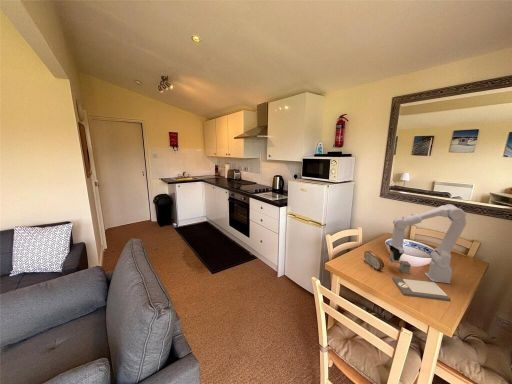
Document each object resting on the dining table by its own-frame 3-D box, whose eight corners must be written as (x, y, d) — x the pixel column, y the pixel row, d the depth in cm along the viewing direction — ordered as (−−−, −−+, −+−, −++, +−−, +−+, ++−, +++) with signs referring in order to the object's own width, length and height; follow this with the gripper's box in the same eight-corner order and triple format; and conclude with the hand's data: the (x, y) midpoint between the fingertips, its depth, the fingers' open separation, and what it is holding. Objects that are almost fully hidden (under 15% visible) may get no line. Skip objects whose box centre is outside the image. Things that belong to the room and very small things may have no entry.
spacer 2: (405, 270, 133) (407, 261, 132) (409, 273, 129) (410, 264, 128) (398, 269, 134) (400, 260, 132) (401, 273, 130) (403, 264, 129)
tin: (383, 272, 130) (385, 259, 129) (378, 272, 130) (380, 260, 128) (366, 259, 145) (368, 248, 143) (362, 260, 144) (364, 248, 143)
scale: (433, 283, 120) (433, 280, 119) (450, 301, 106) (450, 297, 106) (392, 279, 124) (392, 276, 123) (403, 295, 110) (404, 292, 110)
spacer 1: (396, 259, 132) (397, 250, 131) (399, 263, 128) (400, 253, 127) (389, 259, 133) (390, 250, 132) (391, 262, 129) (393, 253, 128)
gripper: (385, 232, 135) (382, 252, 138) (395, 242, 121) (392, 263, 124) (398, 233, 134) (394, 253, 137) (409, 243, 120) (405, 265, 123)
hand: (394, 258), depth 130 cm, fingers closed on spacer 1, 4 cm apart
